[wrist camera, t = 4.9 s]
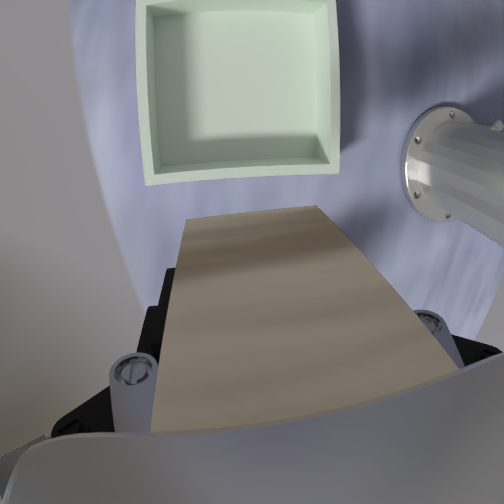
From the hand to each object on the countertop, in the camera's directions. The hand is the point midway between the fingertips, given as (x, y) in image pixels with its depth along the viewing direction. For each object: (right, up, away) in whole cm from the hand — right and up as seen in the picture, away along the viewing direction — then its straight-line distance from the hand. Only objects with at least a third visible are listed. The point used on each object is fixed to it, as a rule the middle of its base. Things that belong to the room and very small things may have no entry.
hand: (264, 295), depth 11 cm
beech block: (0, +1, +2) cm, 2 cm away
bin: (-2, +15, +12) cm, 19 cm away
